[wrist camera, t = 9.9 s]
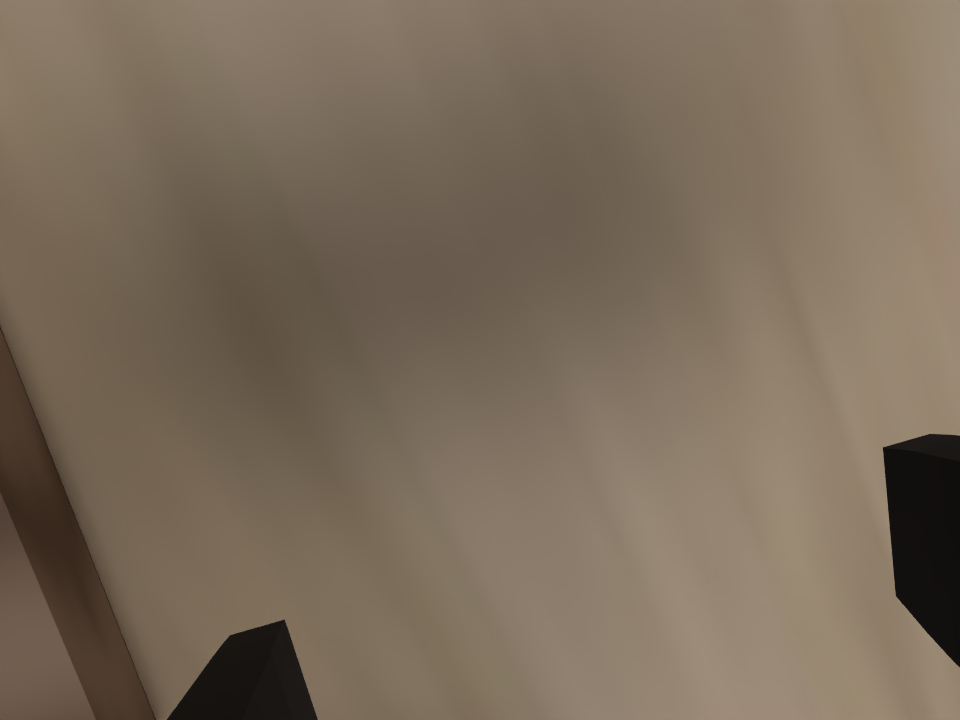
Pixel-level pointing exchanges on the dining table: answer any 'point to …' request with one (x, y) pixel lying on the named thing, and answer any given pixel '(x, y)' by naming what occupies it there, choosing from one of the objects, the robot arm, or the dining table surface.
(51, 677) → the walnut base
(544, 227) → the dining table surface
